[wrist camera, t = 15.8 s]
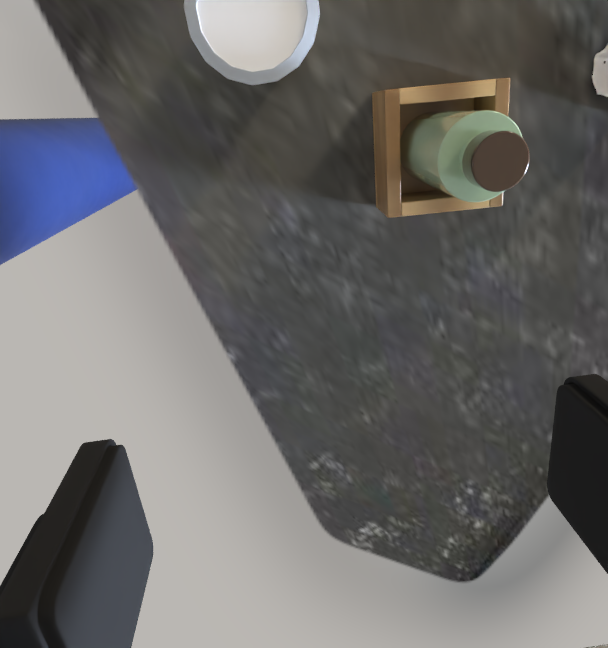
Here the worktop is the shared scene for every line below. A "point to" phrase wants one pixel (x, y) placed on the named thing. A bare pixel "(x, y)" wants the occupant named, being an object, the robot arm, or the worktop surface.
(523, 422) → the worktop surface
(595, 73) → the shaker set
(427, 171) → the bottle
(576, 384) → the robot arm
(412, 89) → the box
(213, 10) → the white cup
